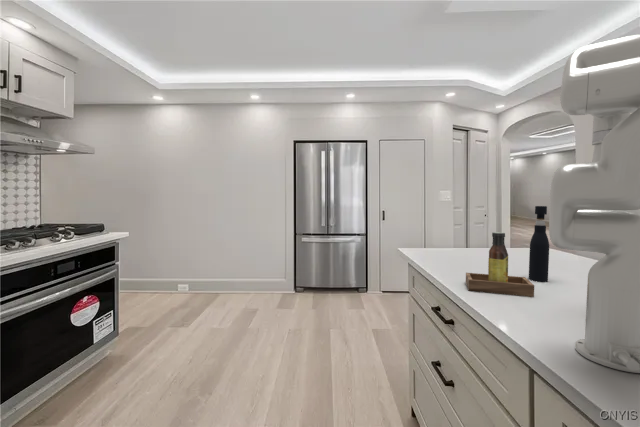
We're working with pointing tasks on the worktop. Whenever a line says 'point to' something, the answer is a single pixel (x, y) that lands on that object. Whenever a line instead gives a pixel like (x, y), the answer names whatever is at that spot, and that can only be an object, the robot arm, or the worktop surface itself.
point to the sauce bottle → (498, 259)
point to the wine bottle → (539, 248)
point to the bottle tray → (500, 285)
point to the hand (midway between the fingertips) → (606, 199)
